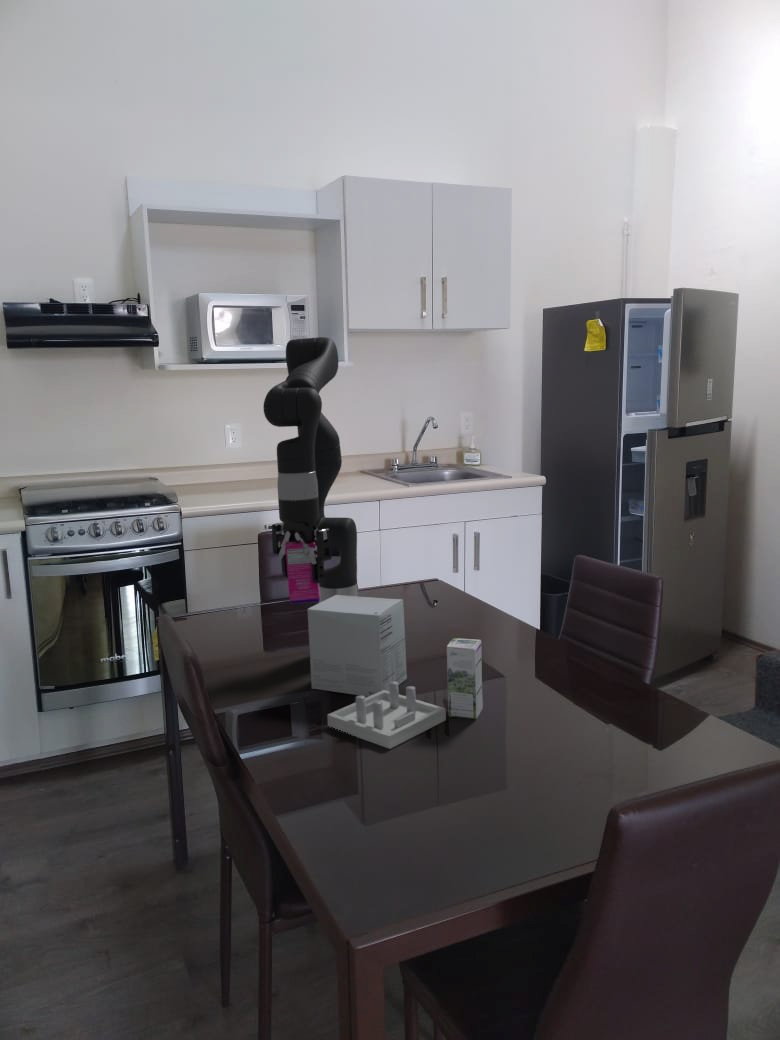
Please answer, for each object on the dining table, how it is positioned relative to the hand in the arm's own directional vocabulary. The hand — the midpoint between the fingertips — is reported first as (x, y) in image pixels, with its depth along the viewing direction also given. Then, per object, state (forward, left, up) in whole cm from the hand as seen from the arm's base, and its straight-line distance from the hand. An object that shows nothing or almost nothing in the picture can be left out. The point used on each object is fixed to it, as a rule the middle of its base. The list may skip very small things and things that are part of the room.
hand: (303, 579), depth 160 cm
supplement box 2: (-19, -5, -28) cm, 34 cm away
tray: (-7, +14, -28) cm, 32 cm away
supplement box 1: (0, 0, -4) cm, 4 cm away
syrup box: (-20, +23, -28) cm, 41 cm away
